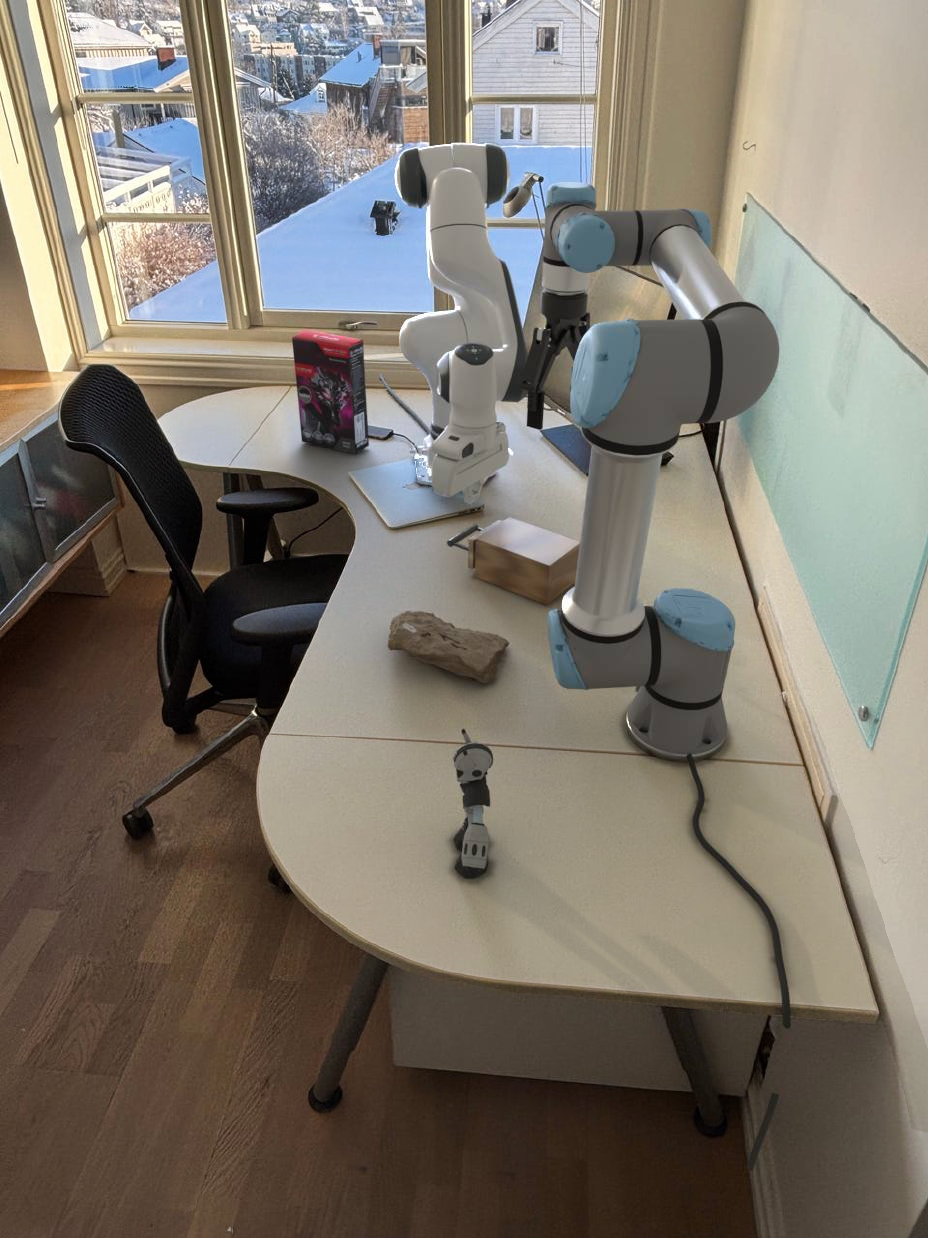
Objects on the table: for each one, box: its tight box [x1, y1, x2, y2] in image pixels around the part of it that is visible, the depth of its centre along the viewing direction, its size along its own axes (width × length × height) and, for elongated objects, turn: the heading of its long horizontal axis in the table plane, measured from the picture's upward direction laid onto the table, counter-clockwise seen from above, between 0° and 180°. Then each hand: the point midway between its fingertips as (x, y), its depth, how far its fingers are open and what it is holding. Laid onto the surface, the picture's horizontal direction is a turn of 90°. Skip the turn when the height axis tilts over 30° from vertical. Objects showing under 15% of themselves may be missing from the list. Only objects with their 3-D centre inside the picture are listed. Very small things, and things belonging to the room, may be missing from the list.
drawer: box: [446, 519, 503, 570], centre depth 181 cm, size 21×10×6 cm, turn 53°
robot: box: [452, 728, 494, 879], centre depth 116 cm, size 20×5×20 cm, turn 3°
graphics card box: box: [291, 329, 370, 455], centre depth 226 cm, size 17×7×27 cm, turn 62°
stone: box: [387, 610, 510, 685], centre depth 156 cm, size 21×15×6 cm
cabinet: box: [474, 516, 580, 606], centre depth 178 cm, size 17×11×9 cm
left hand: (471, 500), depth 180 cm, fingers closed
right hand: (556, 415), depth 159 cm, fingers open, 13 cm apart
